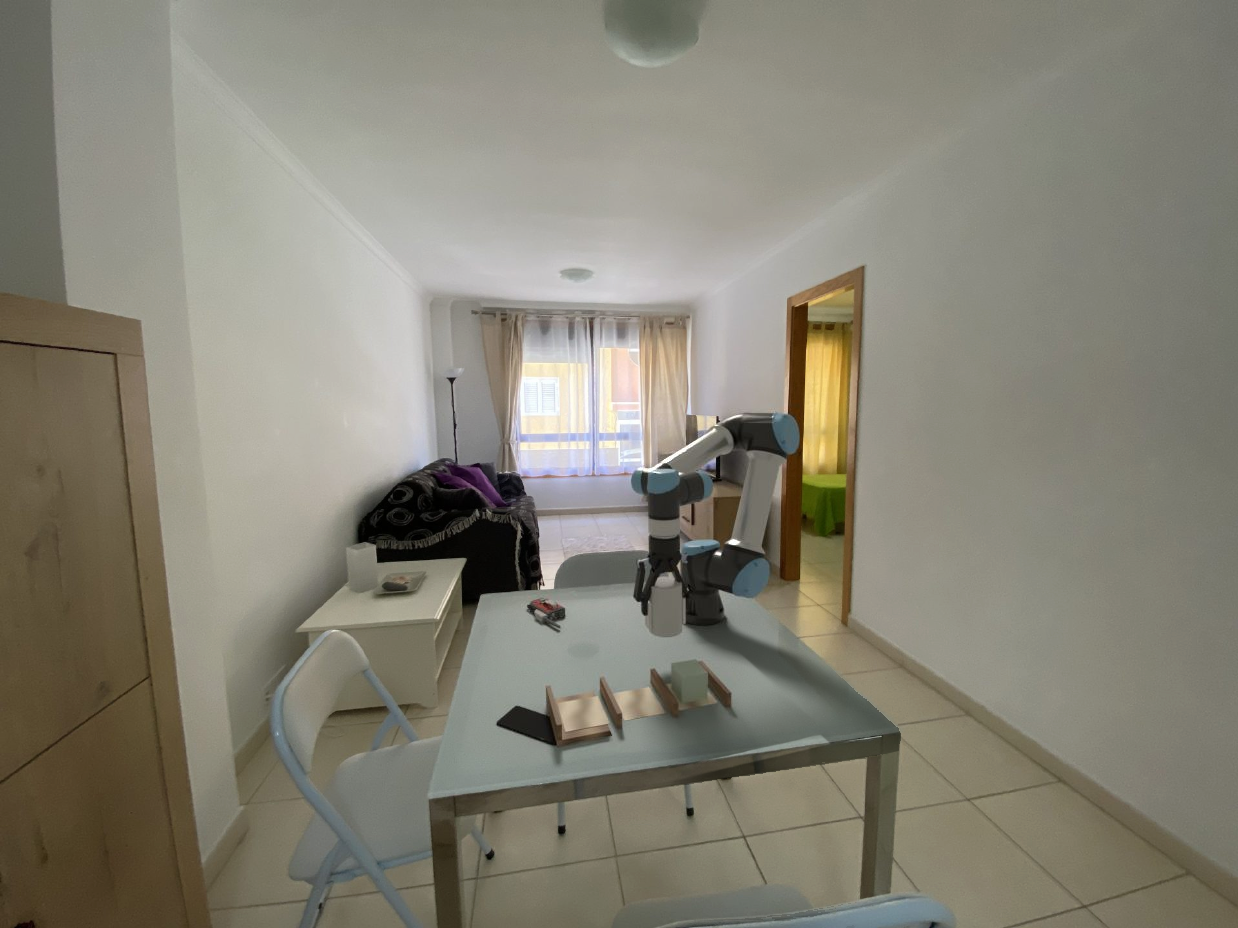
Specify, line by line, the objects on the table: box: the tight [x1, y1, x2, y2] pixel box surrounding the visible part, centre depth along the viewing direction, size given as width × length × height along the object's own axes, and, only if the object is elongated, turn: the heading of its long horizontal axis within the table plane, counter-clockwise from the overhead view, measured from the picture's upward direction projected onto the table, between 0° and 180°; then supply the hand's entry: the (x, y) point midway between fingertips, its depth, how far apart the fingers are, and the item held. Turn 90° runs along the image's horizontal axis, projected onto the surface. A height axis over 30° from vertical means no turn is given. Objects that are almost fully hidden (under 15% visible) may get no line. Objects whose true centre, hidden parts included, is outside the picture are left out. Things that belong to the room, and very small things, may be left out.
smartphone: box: [495, 705, 557, 747], centre depth 103 cm, size 7×1×15 cm
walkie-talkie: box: [526, 597, 566, 629], centre depth 155 cm, size 9×4×20 cm
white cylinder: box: [648, 576, 683, 638], centre depth 124 cm, size 8×8×12 cm
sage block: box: [670, 659, 709, 703], centre depth 111 cm, size 6×6×6 cm
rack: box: [545, 660, 732, 748], centre depth 108 cm, size 37×14×4 cm, turn 106°
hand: (665, 624), depth 124 cm, fingers closed on white cylinder, 8 cm apart
